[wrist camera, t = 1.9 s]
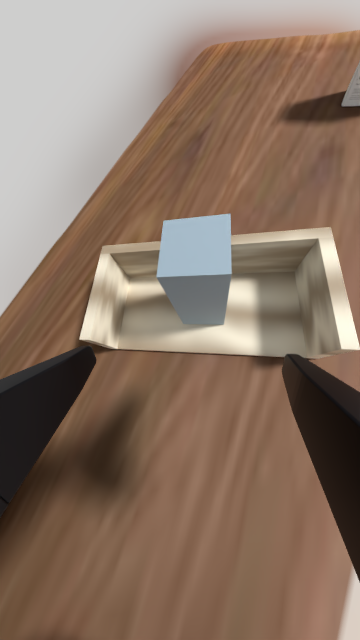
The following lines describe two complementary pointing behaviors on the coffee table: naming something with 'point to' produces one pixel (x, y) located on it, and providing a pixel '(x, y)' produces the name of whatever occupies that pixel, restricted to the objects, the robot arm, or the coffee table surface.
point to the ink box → (353, 90)
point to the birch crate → (230, 300)
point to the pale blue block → (197, 267)
